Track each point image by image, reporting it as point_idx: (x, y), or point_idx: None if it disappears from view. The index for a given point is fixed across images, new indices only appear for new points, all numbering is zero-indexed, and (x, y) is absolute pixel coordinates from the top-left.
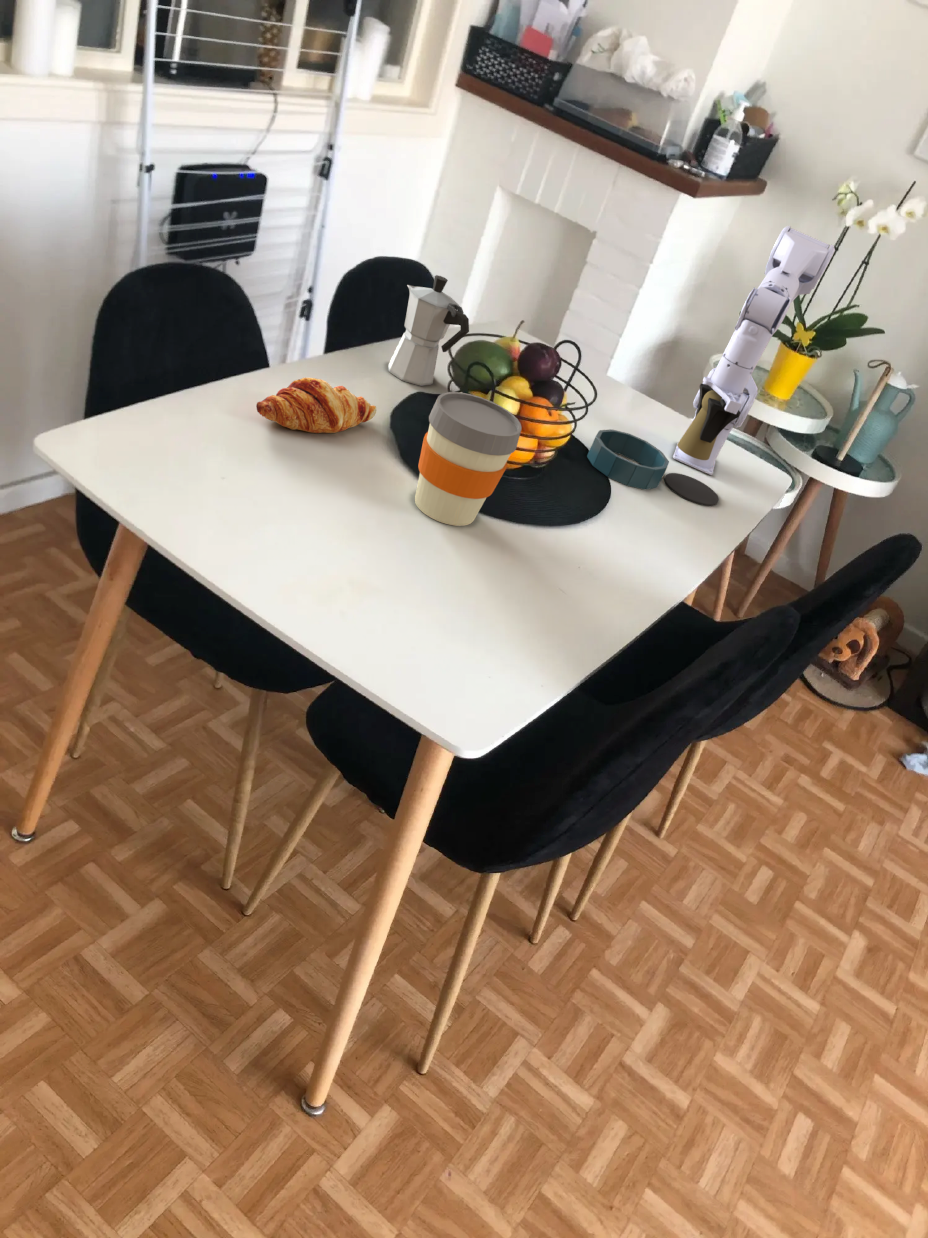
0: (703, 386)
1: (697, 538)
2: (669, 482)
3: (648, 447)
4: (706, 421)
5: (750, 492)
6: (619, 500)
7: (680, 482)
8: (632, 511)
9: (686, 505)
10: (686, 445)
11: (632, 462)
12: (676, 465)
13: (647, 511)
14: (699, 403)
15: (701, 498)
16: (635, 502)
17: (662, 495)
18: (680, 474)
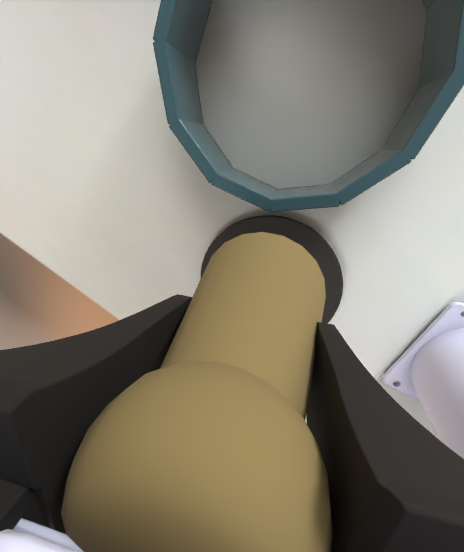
0: (443, 540)
1: (43, 214)
2: (267, 226)
3: (378, 163)
4: (109, 325)
5: None
6: (78, 10)
7: None
8: (45, 48)
9: (178, 240)
10: (224, 251)
11: (167, 23)
12: (410, 297)
13: (76, 103)
14: (366, 393)
15: None
16: (101, 72)
17: (192, 182)
18: (337, 282)
